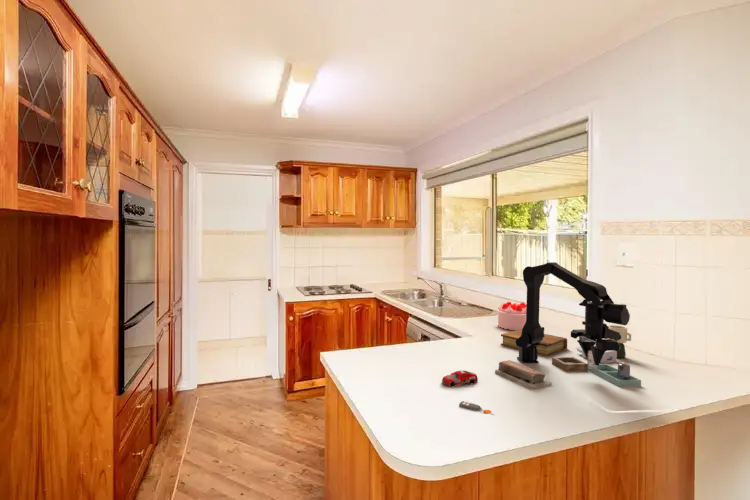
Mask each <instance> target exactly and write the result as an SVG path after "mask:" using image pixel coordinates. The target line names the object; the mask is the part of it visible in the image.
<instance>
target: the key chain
mask: <svg viewBox="0 0 750 500" xmlns="http://www.w3.org/2000/svg"><path fill="white" fill-rule="evenodd" d="M458 406H459V407H460V408H463V409H466V410H470V411H475V412H481V411H483V413H484V414H490V415H492V416H493V417H494V416H495V414H494V413H492V410H490V409H483V408H482V407H481V406H480V405H478V404H476V403H472V402H470V401H468V400H463V401H460V402H459V404H458Z"/></svg>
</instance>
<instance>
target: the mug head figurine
mask: <svg viewBox="0 0 750 500" xmlns="http://www.w3.org/2000/svg"><path fill="white" fill-rule="evenodd" d="M607 326H608V327H609V329H611V330H613V331H616V332H619V333H620V335H619V338H618V341H617V342H618V343H619V344H620V350H614V351H616V352H617V358H625V357H626V356H627V355H626V354H627V353H626V348H625V347H626V346H625V344H626V343H627V342H631V341H632V334H631V333H630V332H628V327H626V326H624V325H618V324H613V325H607ZM608 339H609V338H608ZM611 340H614V339H611ZM614 341H615V340H614Z"/></svg>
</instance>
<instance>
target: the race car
mask: <svg viewBox="0 0 750 500" xmlns="http://www.w3.org/2000/svg"><path fill="white" fill-rule="evenodd" d="M478 379H479V378H478V376H477V373H474V372H473V371H468V370H457V371H453V372H451V373H450V374H448V375H445V376H443V377H442V380H441V382H442V384H443V385H445V386H447V387H448V386H449V387H450V388H453V386H454V387H457V386H463V385H473V384H476V383H478Z"/></svg>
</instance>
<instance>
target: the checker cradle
mask: <svg viewBox="0 0 750 500" xmlns="http://www.w3.org/2000/svg"><path fill="white" fill-rule="evenodd" d="M563 361H572V362H574V363H565V362H563ZM587 364H588V363H586V362H585V361H582V360H581V359H578V358H576V357H575V356H553V357H552V356H551V365H552V366H555V367H558V368H559V369H560V370H563V371H564V372H580V371H581V372H585V371H586V372H587V371H588V370H587Z"/></svg>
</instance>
